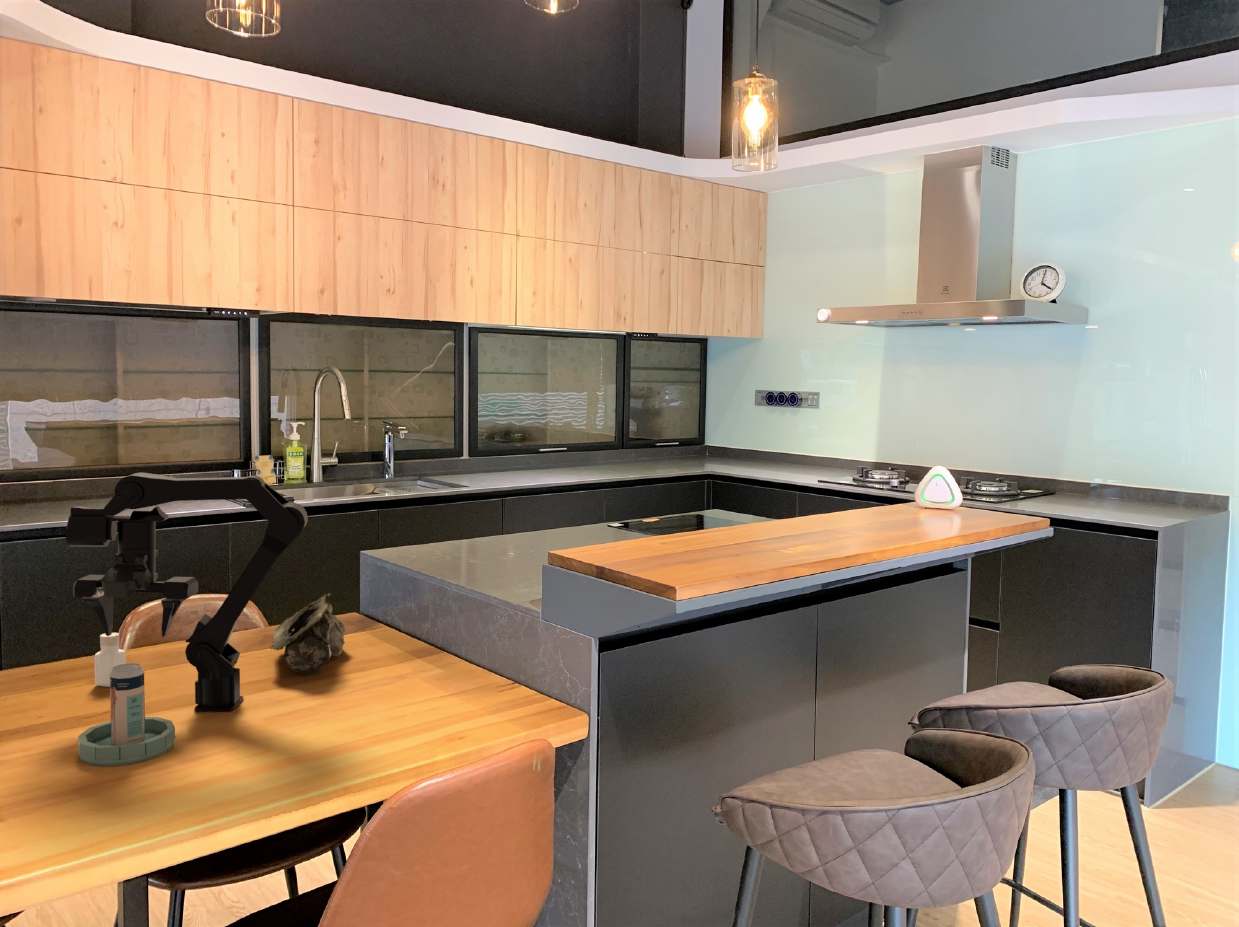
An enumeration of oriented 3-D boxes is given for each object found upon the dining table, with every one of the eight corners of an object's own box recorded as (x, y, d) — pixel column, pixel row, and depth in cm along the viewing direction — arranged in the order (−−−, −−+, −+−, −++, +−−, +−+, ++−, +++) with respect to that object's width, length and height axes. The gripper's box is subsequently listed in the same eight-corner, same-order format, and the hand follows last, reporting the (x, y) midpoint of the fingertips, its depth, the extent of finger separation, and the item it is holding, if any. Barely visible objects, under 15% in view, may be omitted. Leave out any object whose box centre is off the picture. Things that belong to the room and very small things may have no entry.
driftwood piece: (303, 707, 179) (359, 650, 180) (252, 664, 177) (309, 606, 177) (323, 660, 207) (371, 611, 207) (279, 622, 204) (328, 573, 205)
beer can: (122, 736, 148) (120, 661, 147) (151, 737, 147) (150, 663, 146) (104, 747, 143) (102, 671, 142) (134, 749, 143) (133, 672, 142)
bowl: (186, 733, 152) (186, 716, 152) (153, 765, 139) (152, 747, 139) (104, 733, 151) (103, 717, 151) (62, 766, 138) (61, 748, 138)
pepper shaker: (112, 688, 173) (111, 638, 172) (93, 686, 174) (92, 636, 173) (127, 681, 177) (126, 632, 176) (109, 680, 178) (108, 631, 177)
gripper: (55, 553, 151) (56, 647, 152) (175, 556, 153) (174, 649, 154) (88, 542, 162) (88, 630, 163) (199, 545, 164) (199, 632, 165)
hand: (136, 636), depth 161 cm, fingers open, 9 cm apart
